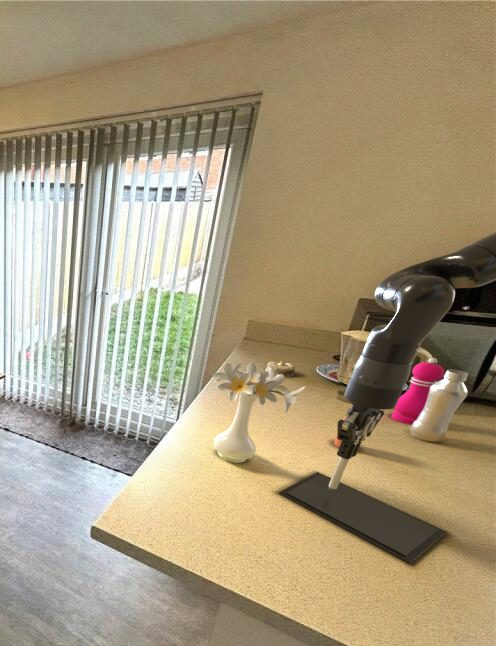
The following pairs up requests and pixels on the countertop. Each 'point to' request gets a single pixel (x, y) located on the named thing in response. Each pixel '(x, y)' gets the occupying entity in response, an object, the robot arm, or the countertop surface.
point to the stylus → (338, 473)
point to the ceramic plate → (334, 372)
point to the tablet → (365, 517)
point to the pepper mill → (417, 391)
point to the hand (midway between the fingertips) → (345, 455)
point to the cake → (281, 368)
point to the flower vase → (247, 407)
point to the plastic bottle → (440, 406)
